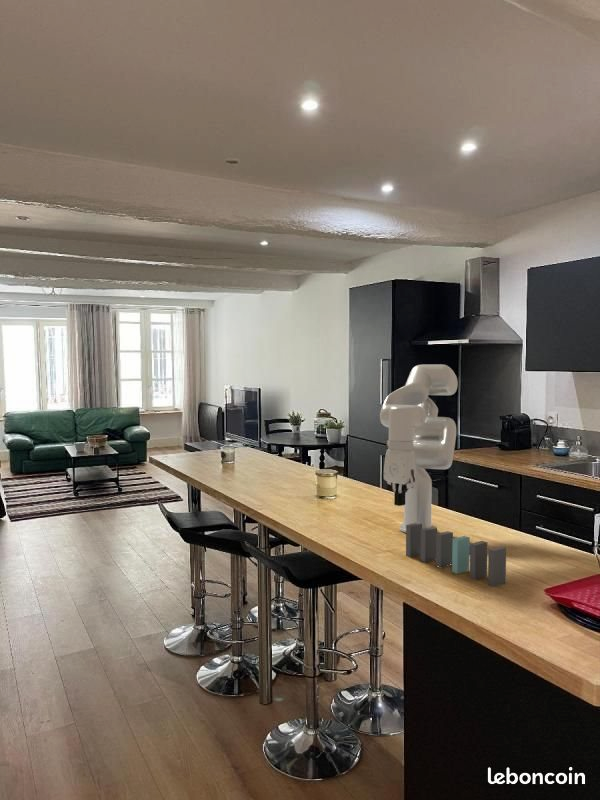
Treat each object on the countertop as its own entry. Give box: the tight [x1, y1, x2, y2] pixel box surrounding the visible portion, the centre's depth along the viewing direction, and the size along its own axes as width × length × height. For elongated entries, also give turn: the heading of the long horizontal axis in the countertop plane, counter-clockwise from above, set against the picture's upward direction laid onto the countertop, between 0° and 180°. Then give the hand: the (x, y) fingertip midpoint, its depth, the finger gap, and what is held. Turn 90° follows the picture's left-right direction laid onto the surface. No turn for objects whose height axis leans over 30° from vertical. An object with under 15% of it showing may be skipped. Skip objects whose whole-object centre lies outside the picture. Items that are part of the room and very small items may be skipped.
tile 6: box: [487, 545, 507, 588], centre depth 160 cm, size 2×5×10 cm, turn 125°
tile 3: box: [435, 530, 454, 568], centre depth 175 cm, size 2×5×10 cm, turn 125°
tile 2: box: [420, 526, 438, 563], centre depth 180 cm, size 2×5×10 cm, turn 125°
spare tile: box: [451, 535, 471, 574], centre depth 170 cm, size 2×5×10 cm, turn 125°
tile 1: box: [405, 523, 422, 558], centre depth 185 cm, size 2×5×10 cm, turn 125°
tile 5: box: [469, 540, 488, 581], centre depth 165 cm, size 2×5×10 cm, turn 125°
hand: (399, 504), depth 188 cm, fingers closed
